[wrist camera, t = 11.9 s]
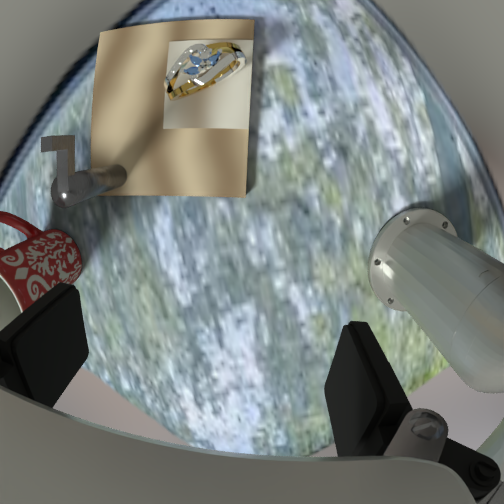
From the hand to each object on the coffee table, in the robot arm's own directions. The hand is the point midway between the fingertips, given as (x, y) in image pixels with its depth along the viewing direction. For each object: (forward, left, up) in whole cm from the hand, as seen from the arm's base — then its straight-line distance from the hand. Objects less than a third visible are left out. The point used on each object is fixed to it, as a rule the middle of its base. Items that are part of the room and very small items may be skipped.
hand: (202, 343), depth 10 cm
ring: (+3, -12, -21) cm, 24 cm away
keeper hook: (+12, -5, -21) cm, 25 cm away
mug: (+22, +4, -23) cm, 32 cm away
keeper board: (+7, -11, -22) cm, 26 cm away
